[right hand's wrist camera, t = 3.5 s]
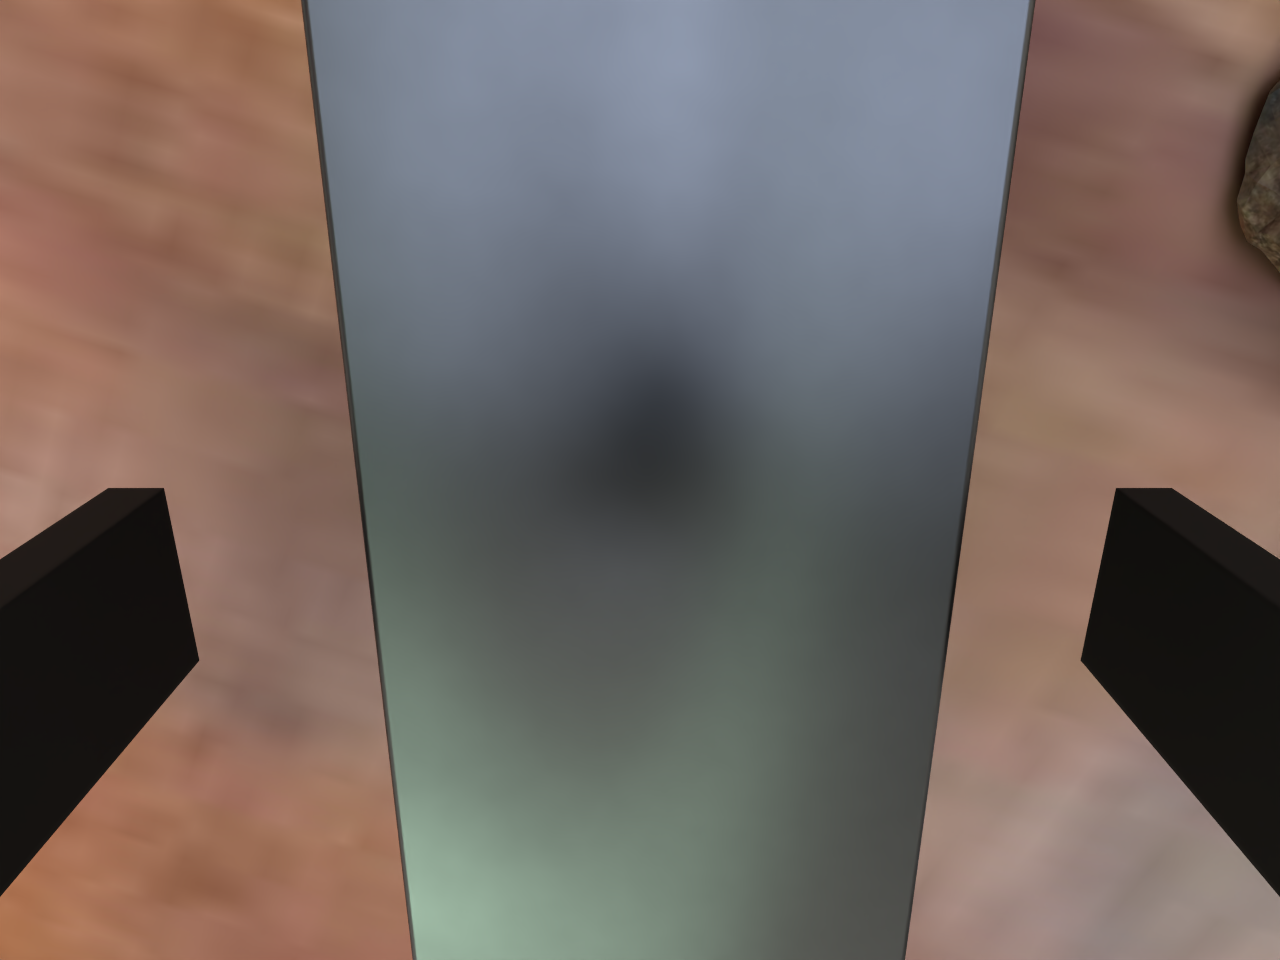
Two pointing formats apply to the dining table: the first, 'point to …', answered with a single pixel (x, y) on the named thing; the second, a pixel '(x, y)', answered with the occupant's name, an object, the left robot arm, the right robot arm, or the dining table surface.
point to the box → (663, 448)
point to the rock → (1263, 183)
